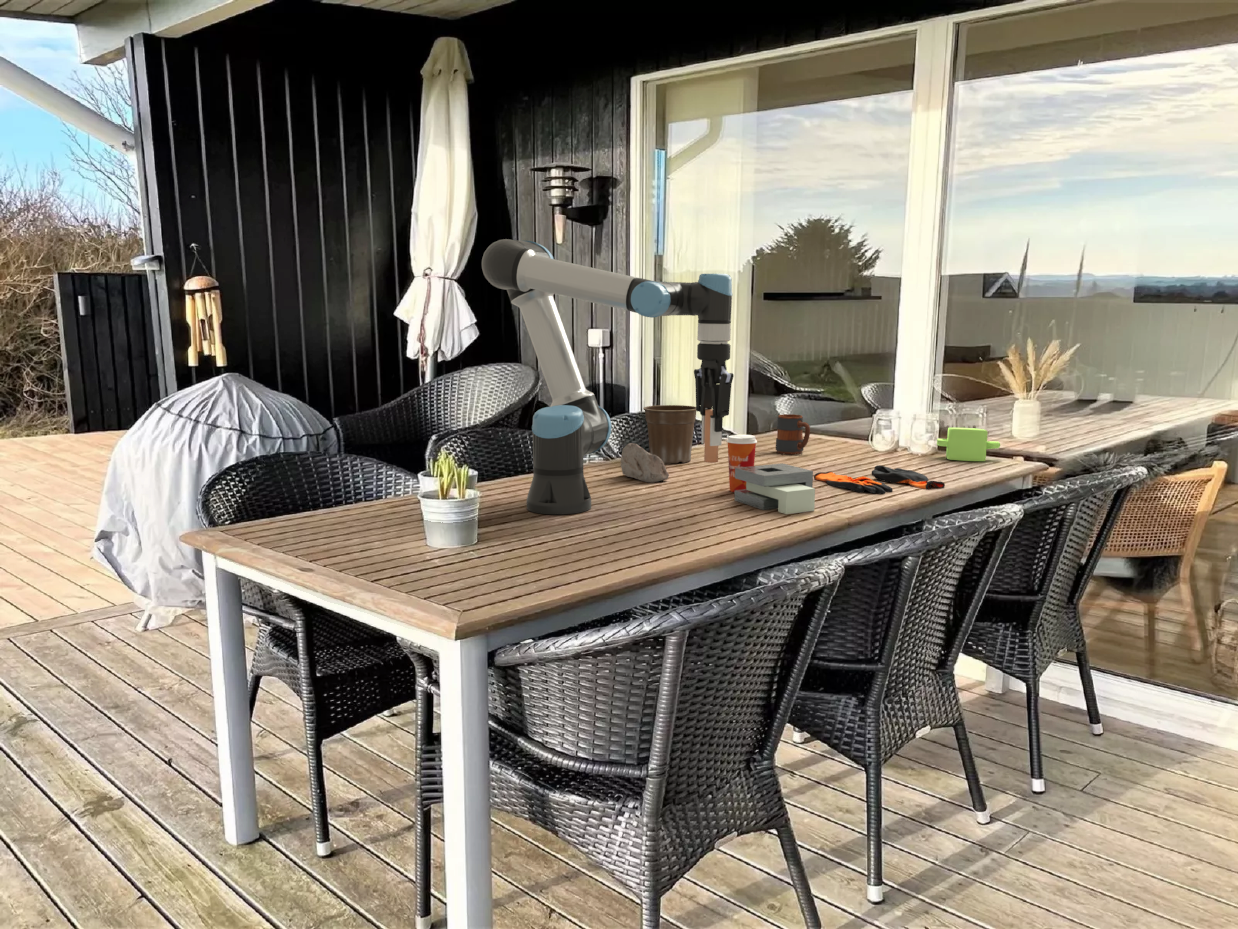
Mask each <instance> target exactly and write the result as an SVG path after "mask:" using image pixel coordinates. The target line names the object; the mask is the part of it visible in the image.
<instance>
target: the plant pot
mask: <svg viewBox="0 0 1238 929" xmlns="http://www.w3.org/2000/svg"><path fill="white" fill-rule="evenodd" d="M643 411H644V414H645V421H646V423H647V425H646V427H647V436H648V445H649V447H648V448H649V453H651V454H652V455H656V456H658V457H659V458H660V459H661V460H662V461H663V463H664V465H665V464H669V465H670V464H679V463H682V464H683V463H688V462H690V461H691V459H692V449H693V440H694V439H693V438H694V437H693V436H694V429H695V422H696V418H697V411H696V406H693V405H684V404H683V405H681V404H673V405H672V404H659V405H658V404H657V405H648V406H644V407H643Z"/></svg>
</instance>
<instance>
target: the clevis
mask: <svg viewBox="0 0 1238 929" xmlns="http://www.w3.org/2000/svg"><path fill="white" fill-rule="evenodd" d="M735 478H736V479H739V480H743V481H746V482H749V483H753V484H756V485H760V486H763V487H766V486H775V485H784V484H793V483H797V484H800V485H804V486H808V487H811V488H814V486H813V484H814V483H813V482H814V481H813V480H814V471H813V470H810V469H806V468H802V467H798V466H794V465H791V464H786V463H773V464H763V465H761V464H760V465H754V466H750V467H740V468H735ZM733 499H734V501H735V502H738V503H741V504H744V505H746V506H750V507H752V508H753V507H754V508H756V509H759V510H762V511H767V510H775V509H778V499H774V498H771V497H768V496H765V495H761V494H758V493H755V492H752V491H748V490H746V489H743V490H735V493H734V498H733Z"/></svg>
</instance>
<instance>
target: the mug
mask: <svg viewBox="0 0 1238 929" xmlns="http://www.w3.org/2000/svg"><path fill="white" fill-rule="evenodd" d="M776 423H777V424H776V429H777V434H776V440H775V451H776V453H778V454H781V455H793V456H794V455H801V454H803V451H804V448H805V447H806V446H807V444H808V443H809V440H810V435H811V426H810V425H809V423H807V422H804V417H803V415H800V414H791V413H790V414H789V413H787V414H779V415H778V416H777V422H776ZM804 428H805V429H804ZM803 429H804V430H805V431H804V436H803Z"/></svg>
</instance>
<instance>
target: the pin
mask: <svg viewBox="0 0 1238 929" xmlns="http://www.w3.org/2000/svg"><path fill="white" fill-rule="evenodd" d="M711 415H713V409H708V410H705V444H704V456H703V457H704V458H703V459H704V460H703V461H704V463H711V464H714V463H718V462H719V446H710V418H711V417H710V416H711Z"/></svg>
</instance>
